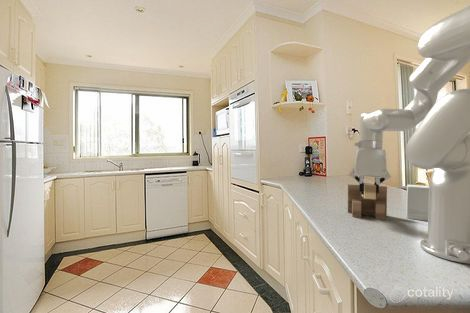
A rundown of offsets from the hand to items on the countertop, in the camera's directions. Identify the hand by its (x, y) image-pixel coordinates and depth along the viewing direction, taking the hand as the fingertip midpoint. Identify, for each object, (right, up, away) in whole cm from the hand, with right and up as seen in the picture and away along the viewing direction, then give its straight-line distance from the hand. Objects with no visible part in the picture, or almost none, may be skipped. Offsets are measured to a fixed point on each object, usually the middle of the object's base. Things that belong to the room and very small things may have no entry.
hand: (368, 193), depth 85 cm
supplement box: (+22, -10, +4) cm, 25 cm away
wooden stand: (+3, -10, +6) cm, 12 cm away
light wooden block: (+1, -2, +1) cm, 2 cm away
